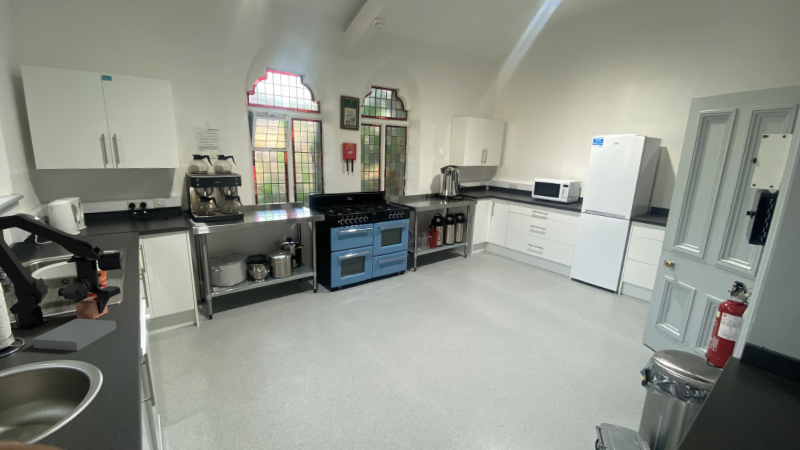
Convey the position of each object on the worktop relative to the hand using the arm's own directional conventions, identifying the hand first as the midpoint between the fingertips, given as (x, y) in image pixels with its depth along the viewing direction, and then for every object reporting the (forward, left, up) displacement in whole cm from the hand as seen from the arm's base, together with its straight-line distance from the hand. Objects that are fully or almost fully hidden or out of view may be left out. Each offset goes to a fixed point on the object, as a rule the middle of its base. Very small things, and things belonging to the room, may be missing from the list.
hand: (92, 312), depth 128 cm
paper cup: (-12, +15, -1) cm, 19 cm away
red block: (0, 0, -1) cm, 1 cm away
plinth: (+9, -15, -1) cm, 18 cm away
